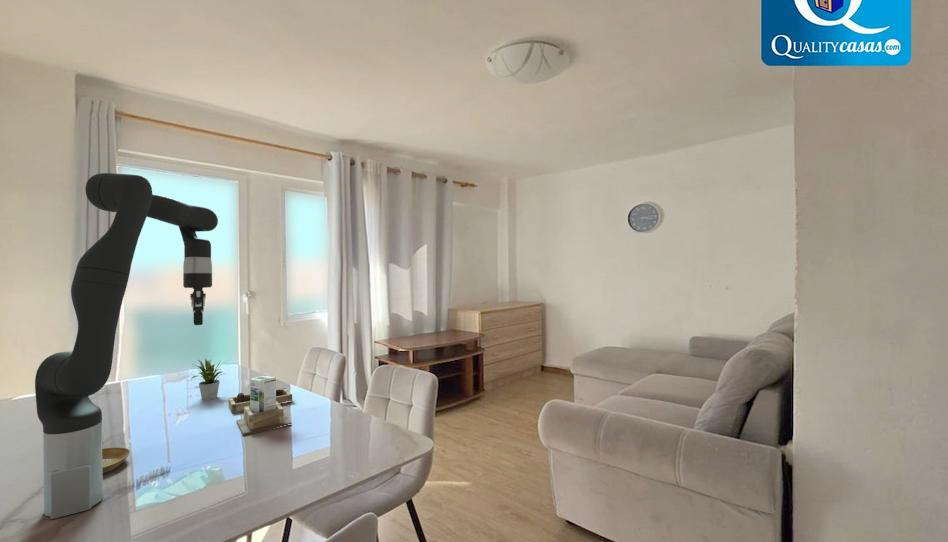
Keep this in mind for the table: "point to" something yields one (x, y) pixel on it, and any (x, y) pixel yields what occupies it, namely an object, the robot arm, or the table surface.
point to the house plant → (208, 380)
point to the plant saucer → (113, 457)
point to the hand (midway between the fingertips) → (198, 324)
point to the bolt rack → (239, 407)
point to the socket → (262, 420)
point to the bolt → (245, 398)
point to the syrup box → (262, 394)
